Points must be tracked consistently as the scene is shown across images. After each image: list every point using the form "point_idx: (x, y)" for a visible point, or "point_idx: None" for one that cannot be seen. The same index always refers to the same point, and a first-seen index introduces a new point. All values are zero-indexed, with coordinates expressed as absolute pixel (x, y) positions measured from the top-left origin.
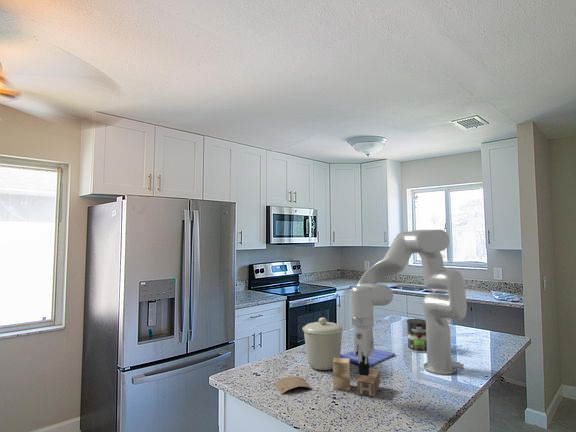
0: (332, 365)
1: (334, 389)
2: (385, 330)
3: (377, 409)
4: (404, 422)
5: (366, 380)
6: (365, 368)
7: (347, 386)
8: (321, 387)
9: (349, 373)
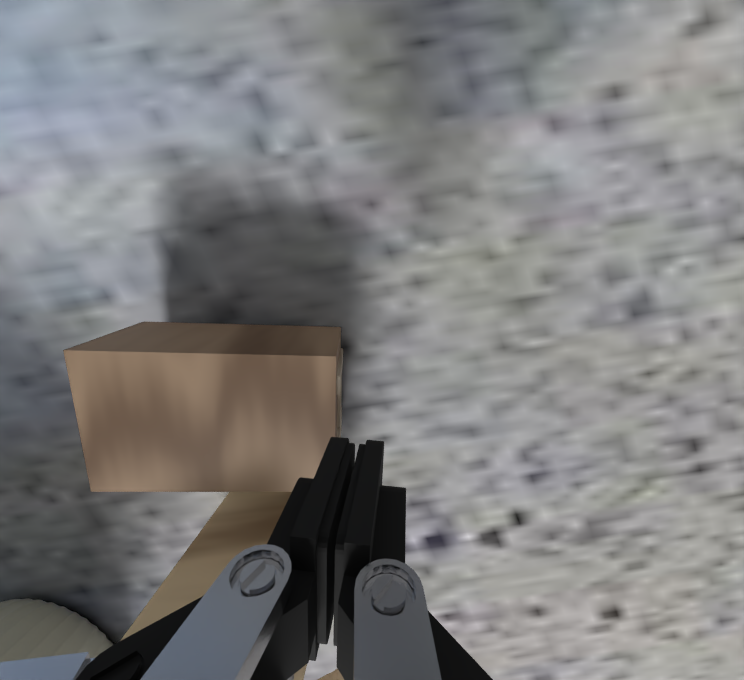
0: (64, 639)
1: None
2: None
3: (521, 279)
4: (685, 50)
5: (304, 423)
6: (379, 520)
7: None
8: None
9: None
